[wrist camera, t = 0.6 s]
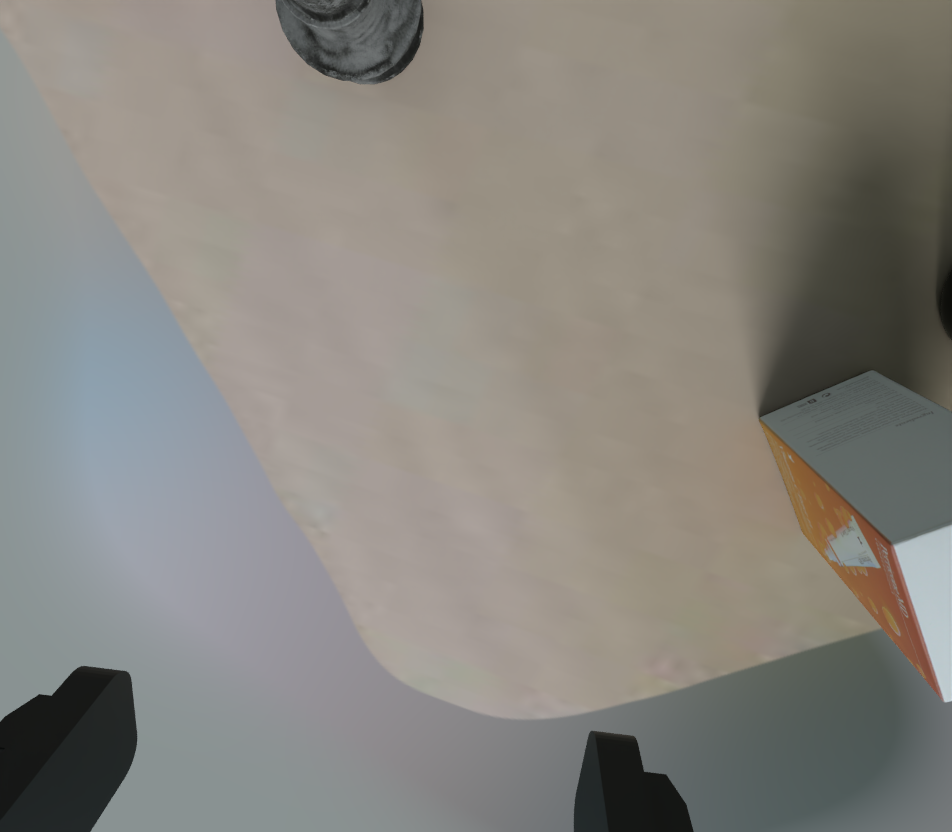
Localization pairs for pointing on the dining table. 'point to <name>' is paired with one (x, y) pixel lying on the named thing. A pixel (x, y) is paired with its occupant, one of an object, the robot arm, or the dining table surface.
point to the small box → (878, 505)
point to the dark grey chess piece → (354, 36)
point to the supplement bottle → (947, 306)
